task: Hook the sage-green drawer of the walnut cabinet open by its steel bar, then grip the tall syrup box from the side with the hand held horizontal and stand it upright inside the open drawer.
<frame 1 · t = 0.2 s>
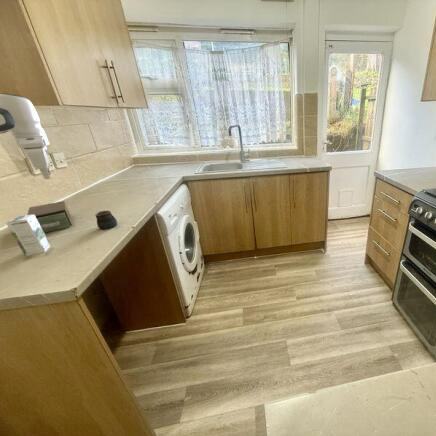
hand: (48, 176, 99), 25 cm above the countertop, tool pointing down, fingers open, 8 cm apart
cabinet: (54, 225, 116), on the countertop
drawer: (50, 220, 111), point 4 cm above the countertop, slide at 1.0 cm
mate gourd: (109, 229, 111), on the countertop
syrup box: (40, 252, 93), on the countertop
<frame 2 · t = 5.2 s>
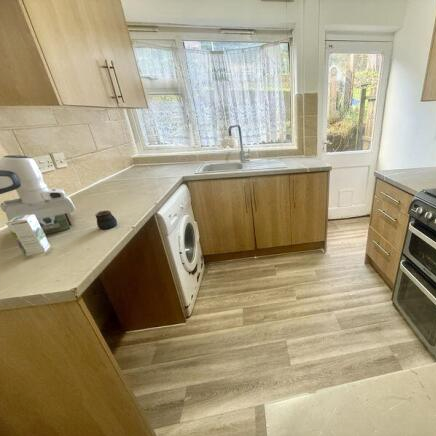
hand: (50, 226, 104), 4 cm above the countertop, tool pointing down, fingers closed, pressing on drawer
drawer: (50, 221, 109), point 4 cm above the countertop, slide at 3.4 cm, touching gripper
everything else where it was.
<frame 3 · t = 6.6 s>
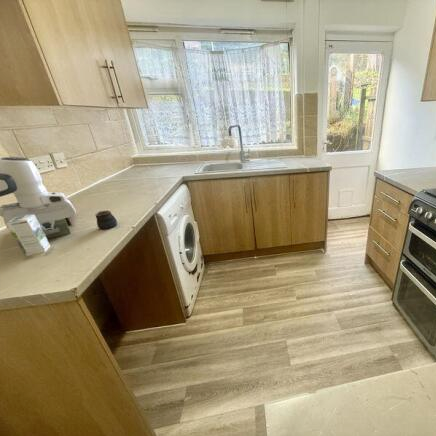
hand: (49, 231, 99), 4 cm above the countertop, tool pointing down, fingers closed, pressing on drawer
drawer: (50, 226, 105), point 4 cm above the countertop, slide at 9.9 cm, touching gripper
everything else where it was.
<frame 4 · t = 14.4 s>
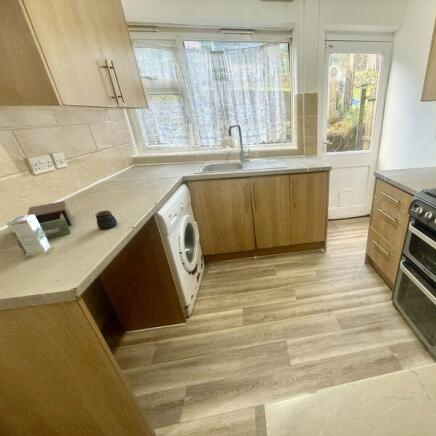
drawer: (50, 226, 105), point 4 cm above the countertop, slide at 10.0 cm
everything else where it was.
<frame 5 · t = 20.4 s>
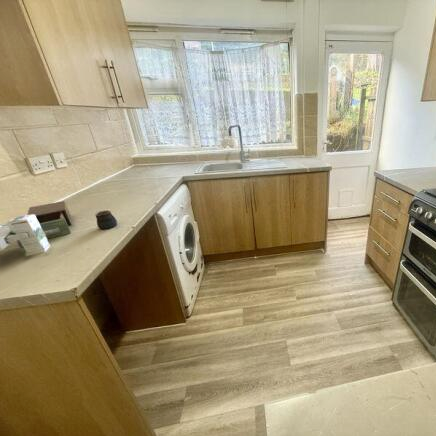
hand: (32, 230, 89), 9 cm above the countertop, tool horizontal, fingers closed on syrup box, 5 cm apart
syrup box: (40, 252, 93), on the countertop, touching gripper
everything else where it was.
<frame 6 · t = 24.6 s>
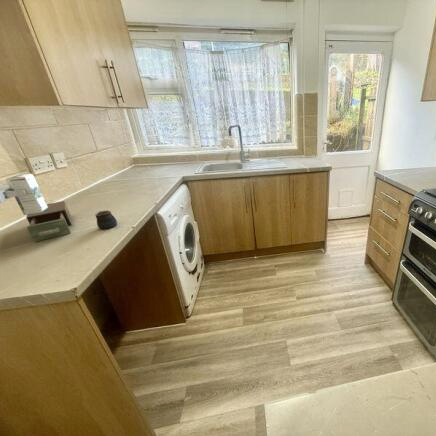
hand: (30, 189, 94), 22 cm above the countertop, tool horizontal, fingers closed on syrup box, 5 cm apart
syrup box: (37, 211, 97), point 13 cm above the countertop, touching gripper
everything else where it was.
when the fingers open (11 cm above the countertop, at t = 28.7 s): syrup box stays where it is, resting on drawer.
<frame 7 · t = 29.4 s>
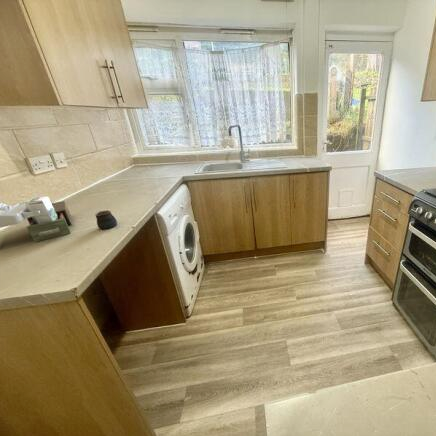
hand: (44, 208, 102), 12 cm above the countertop, tool horizontal, fingers open, 8 cm apart
drawer: (50, 226, 105), point 4 cm above the countertop, slide at 10.0 cm, touching syrup box
syrup box: (52, 230, 106), point 2 cm above the countertop, touching drawer
everything else where it was.
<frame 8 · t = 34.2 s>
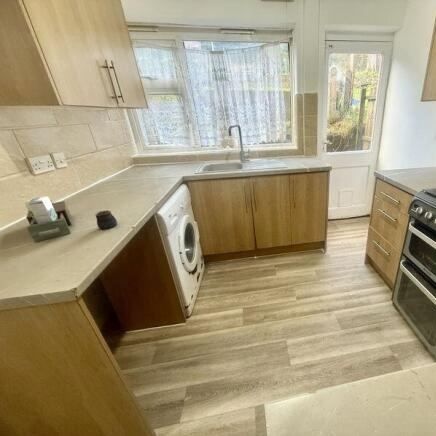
nothing on the countertop moved.
at the end: drawer slide at 10.0 cm; syrup box inside the target area in the drawer (0.2 cm from its centre), point 1.9 cm above the cabinet's base; syrup box tilted 2° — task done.
